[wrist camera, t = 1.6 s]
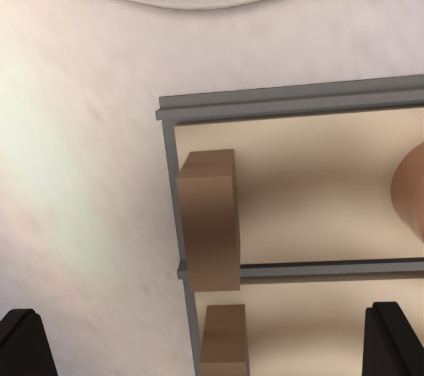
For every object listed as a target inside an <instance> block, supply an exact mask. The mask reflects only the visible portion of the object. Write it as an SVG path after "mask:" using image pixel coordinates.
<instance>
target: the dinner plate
mask: <svg viewBox="0 0 424 376" xmlns="http://www.w3.org/2000/svg"><path fill="white" fill-rule="evenodd" d="M126 1H130V2H134V3H138V4H143V5H148V6H154V7H160V8H168V9H179V10H203V9H218V8H229V7H234V6H239V5H244V4H248V3H252V2H256V1H259V0H126Z"/></svg>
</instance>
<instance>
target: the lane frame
mask: <svg viewBox="0 0 424 376" xmlns="http://www.w3.org/2000/svg"><path fill="white" fill-rule="evenodd" d="M159 103H160V108H159V109H158V110H157V111H155V114H156V120H162V126H163V133H164V141H165V148H166V156H167V163H168V171H169V179H170V186H171V194H172V201H173V209H174V216H175V224H176V232H177V239H178V247H179V254H180V263H179V267H178V270H177V274H178V279H183V284H184V292H185V300H186V307H187V315H188V322H189V330H190V337H191V345H192V353H193V360H194V368H195V375H196V376H201V372H200V364H199V362H200V354H201V343H200V335H199V327H198V318H197V310H196V302H195V294H194V292H190V285H189V277H188V269H187V262H186V254H185V246H184V238H183V230H182V222H181V214H180V206H179V198H178V190H177V182H176V178H177V176H178V174H179V172H180V171H179V163H178V155H177V147H176V138H175V130H174V126H175V125H176V124H177V123H183V122H196V121H209V120H222V119H235V118H248V117H261V116H274V115H287V114H300V113H312V112H325V111H338V110H351V109H364V108H377V107H390V106H403V105H416V104H424V75H415V76H403V77H391V78H379V79H367V80H356V81H344V82H332V83H320V84H308V85H296V86H285V87H273V88H261V89H249V90H237V91H225V92H214V93H202V94H190V95H178V96H166V97H159ZM420 270H424V257H414V258H389V259H364V260H339V261H314V262H289V263H264V264H240V277H256V276H283V275H311V274H338V273H365V272H392V271H420Z"/></svg>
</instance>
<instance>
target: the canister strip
mask: <svg viewBox="0 0 424 376" xmlns="http://www.w3.org/2000/svg"><path fill="white" fill-rule="evenodd" d="M174 130H175V138H176V147H177V155H178V163H179V171H180V172H179V174H178V176H177V178H176V182H177V190H178V198H179V206H180V214H181V222H182V230H183V238H184V246H185V254H186V262H187V269H188V277H189V285H190V292H212V291H240V264H264V263H289V262H314V261H339V260H364V259H389V258H414V257H424V243H423V242H422V241H421V240H420V239H419V238H418V237H417V236H416V235H415V234H414V233H413V232H412V231H411V229H410V228H409V227H408V226H407V225H406V224H405V223H404V222H403V221H402V220H401V219H400V218H399V216H398V215H397V214H396V212H395V210H394V208H393V205H392V201H391V183H392V179H393V176H394V174H395V171H396V169H397V167H398V166H399V164H400V163H401V161H402V160H403V159H404V157H405V156H406V155H407V154H408V153H409V152H410V151H412V150H413V149H414V148H415V147H417V146H418V145H420V144H421V143H423V142H424V104H416V105H403V106H390V107H377V108H364V109H351V110H338V111H325V112H312V113H300V114H287V115H274V116H261V117H248V118H235V119H222V120H209V121H196V122H183V123H177V124H176V125H175V126H174Z"/></svg>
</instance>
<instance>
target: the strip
mask: <svg viewBox="0 0 424 376" xmlns="http://www.w3.org/2000/svg"><path fill="white" fill-rule="evenodd" d="M194 294H195V302H196V310H197V318H198V327H199V335H200V343H201V354H200V362H199V364H200V372H201V376H362V361H363V344H364V326H365V311H366V308H368V307H372V305H373V302H389V301H395V302H397V303H398V304H399V306H400V308H401V309H402V311H403V313H404V315H405V316H406V318H407V320H408V321H409V323H410V325H411V327H412V328H413V330H414V332H415V334H416V335H417V337H418V339H419V340H420V342H421V344H422V346H423V347H424V270H420V271H392V272H365V273H338V274H311V275H283V276H256V277H240V291H212V292H194Z"/></svg>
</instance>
